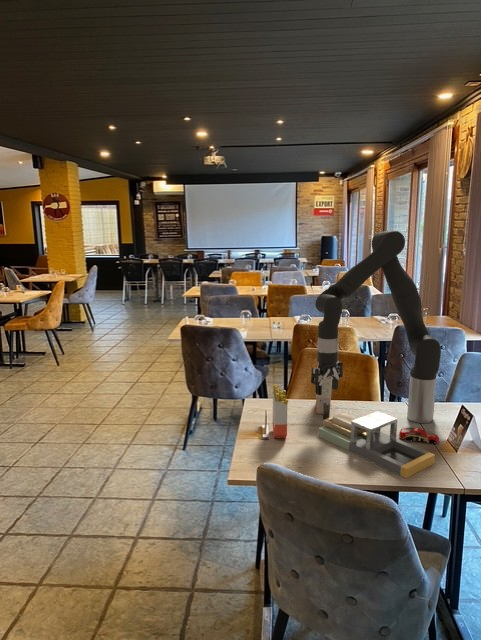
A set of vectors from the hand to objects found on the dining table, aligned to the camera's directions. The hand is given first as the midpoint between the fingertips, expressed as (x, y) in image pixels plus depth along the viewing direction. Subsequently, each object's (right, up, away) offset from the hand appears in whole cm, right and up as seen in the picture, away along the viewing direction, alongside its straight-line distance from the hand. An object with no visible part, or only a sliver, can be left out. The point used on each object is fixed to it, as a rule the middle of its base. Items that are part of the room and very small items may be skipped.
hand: (326, 391), depth 176 cm
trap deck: (+13, -17, -14) cm, 26 cm away
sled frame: (+6, -12, -6) cm, 15 cm away
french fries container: (-18, -15, -4) cm, 24 cm away
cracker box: (+2, -10, +21) cm, 23 cm away
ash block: (+7, -12, -6) cm, 15 cm away
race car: (+31, -16, -7) cm, 36 cm away
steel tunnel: (+13, -14, -15) cm, 24 cm away
